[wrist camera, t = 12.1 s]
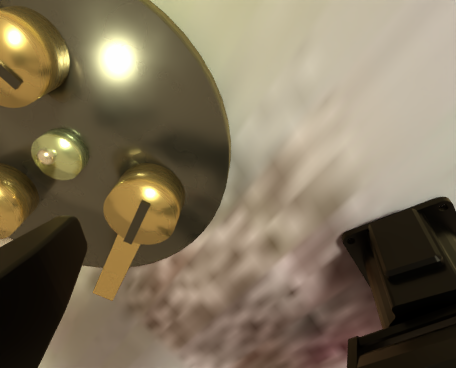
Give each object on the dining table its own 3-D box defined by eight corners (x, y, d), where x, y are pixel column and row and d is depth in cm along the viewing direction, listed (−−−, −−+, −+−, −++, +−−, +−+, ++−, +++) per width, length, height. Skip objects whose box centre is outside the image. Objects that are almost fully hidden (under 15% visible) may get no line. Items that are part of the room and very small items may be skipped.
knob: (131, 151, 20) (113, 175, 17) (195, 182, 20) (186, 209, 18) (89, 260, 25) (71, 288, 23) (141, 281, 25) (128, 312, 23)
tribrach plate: (290, 192, 21) (292, 221, 19) (82, 285, 29) (64, 314, 26) (61, -159, 14) (16, -183, 11) (-145, 89, 21) (-197, 105, 19)
